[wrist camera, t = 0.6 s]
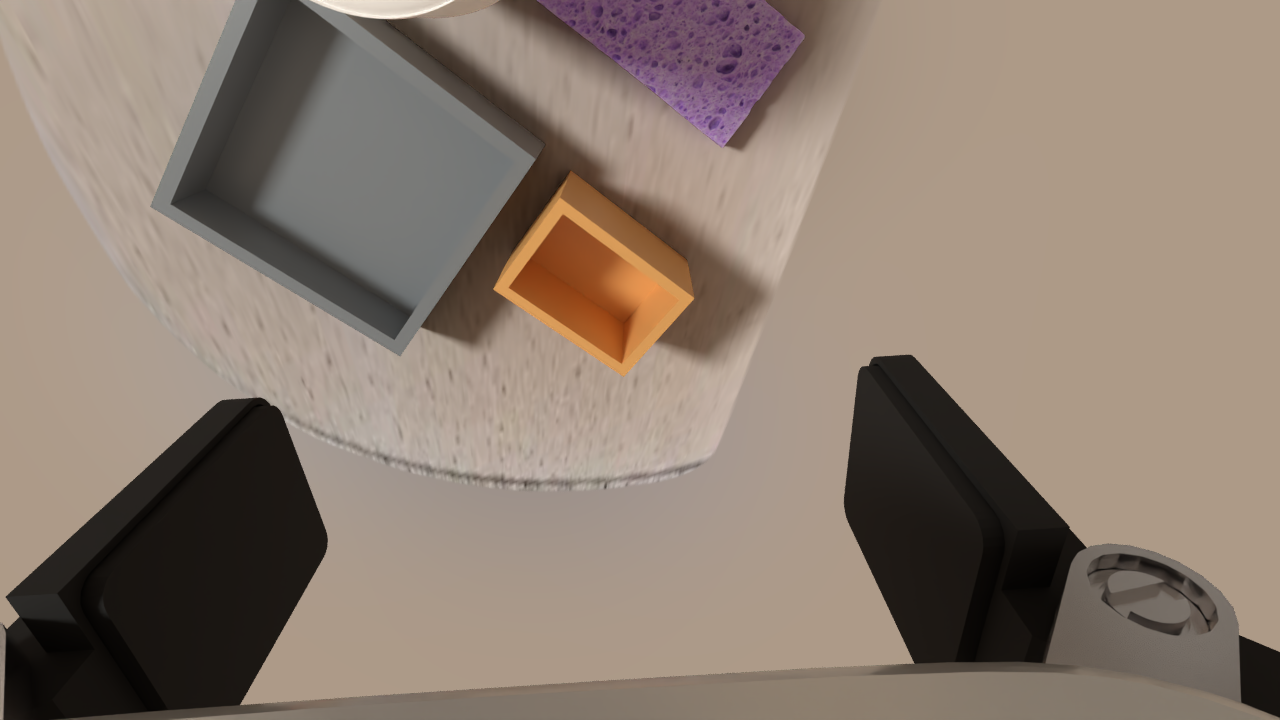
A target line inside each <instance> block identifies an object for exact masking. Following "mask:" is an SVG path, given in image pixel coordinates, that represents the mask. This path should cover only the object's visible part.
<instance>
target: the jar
mask: <svg viewBox="0 0 1280 720" xmlns="http://www.w3.org/2000/svg"><path fill="white" fill-rule="evenodd" d="M310 1H313V2H315V3H317V4H319V5H322V6H324V7H327V8H330V9H332V10H335V11H339V12H342V13H346V14H350V15H354V16H360V17H367V18H376V19H408V18H415V17H424V18H445V17H454V16H460V15H465V14H469V13H473V12H476V11H479V10H481V9H484V8H486V7H488V6H490V5H492V4H494V3H496V2H498V1H500V0H310Z"/></svg>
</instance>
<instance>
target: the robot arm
mask: <svg viewBox="0 0 1280 720" xmlns="http://www.w3.org/2000/svg"><path fill="white" fill-rule="evenodd" d="M844 508H845V513H846V518H847V520H848V523H849V525H850V527H851V529H852V531H853V533H854V536H855V537H856V540H857V542H858V544H859V546H860V548H861V551H862V553H863V555H864V557H865V559H866V561H867V563H868V565H869V568H870V570H871V572H872V574H873V576H874V578H875V580H876V583H877V584H878V587H879V589H880V591H881V593H882V595H883V597H884V600H885V601H886V604H887V606H888V608H889V610H890V612H891V614H892V617H893V618H894V621H895V623H896V625H897V627H898V629H899V631H900V634H901V636H902V638H903V640H904V642H905V644H906V646H907V648H908V651H909V653H910V655H911V657H912V659H913V661H914V663H915V664H898V665H876V666H854V667H831V668H810V669H792V670H776V671H759V672H745V673H744V672H742V673H726V674H708V675H693V676H676V677H659V678H642V679H625V680H609V681H592V682H579V683H562V684H546V685H532V686H531V685H530V686H516V687H501V688H500V687H499V688H485V689H469V690H454V691H440V692H424V693H410V694H393V695H378V696H364V697H349V698H335V699H321V700H309V701H293V702H279V703H265V704H253V705H252V704H251V705H240V704H241V702H242V700H243V699H244V696H245V695H246V693H247V692H248V690H249V688H250V686H251V684H252V683H253V681H254V679H255V678H256V676H257V674H258V672H259V670H260V669H261V667H262V665H263V663H264V662H265V660H266V658H267V656H268V655H269V653H270V651H271V649H272V648H273V646H274V644H275V642H276V640H277V639H278V637H279V635H280V633H281V632H282V630H283V628H284V626H285V625H286V623H287V621H288V619H289V618H290V616H291V614H292V612H293V610H294V609H295V607H296V605H297V603H298V601H299V600H300V598H301V596H302V595H303V593H304V591H305V589H306V588H307V586H308V584H309V582H310V580H311V579H312V577H313V575H314V573H315V572H316V570H317V568H318V566H319V565H320V563H321V561H322V559H323V557H324V555H325V553H326V550H327V542H328V538H327V533H326V529H325V527H324V524H323V521H322V519H321V516H320V513H319V511H318V508H317V506H316V503H315V500H314V498H313V495H312V492H311V490H310V487H309V484H308V482H307V479H306V476H305V474H304V471H303V468H302V466H301V463H300V461H299V458H298V455H297V453H296V450H295V447H294V445H293V442H292V439H291V437H290V434H289V431H288V429H287V426H286V423H285V421H284V418H283V415H282V413H281V411H280V410H279V409H278V408H277V407H276V406H270V404H269V403H268V402H267V401H266V400H265V399H263V398H246V399H231V400H222V401H220V402H218V403H217V404H216V405H215V406H214V407H213V408H211V409H210V410H209V411H208V412H207V413H206V414H205V415H204V416H203V417H202V418H200V420H198V421H197V422H196V423H195V424H194V425H193V426H192V427H191V428H190V429H188V430H187V431H186V432H185V433H184V434H183V435H182V436H181V437H180V438H179V439H177V440H176V442H174V443H173V444H172V445H171V446H170V447H169V448H168V449H167V450H165V451H164V452H163V453H162V454H161V455H160V456H159V457H158V458H157V459H156V460H155V461H153V463H151V464H150V465H149V466H148V467H147V468H146V469H145V470H144V471H143V472H142V473H140V475H138V476H137V477H136V478H135V479H134V480H133V481H132V482H130V483H129V484H128V485H127V486H126V487H125V488H124V489H123V490H122V491H121V492H120V493H119V494H117V495H116V496H115V497H114V498H113V499H112V500H111V501H110V502H109V503H108V504H107V505H105V506H104V507H103V508H102V509H101V510H100V511H99V512H98V513H97V514H96V515H94V516H93V517H92V518H91V519H90V520H89V521H88V522H87V523H86V524H85V525H84V526H82V527H81V528H80V529H79V530H78V531H77V532H76V533H75V534H74V535H73V536H71V538H69V539H68V540H67V541H66V542H65V543H64V544H63V545H62V546H61V547H59V548H58V549H57V550H56V551H55V552H54V553H53V554H52V555H51V556H50V557H49V558H47V559H46V560H45V561H44V562H43V563H42V564H41V565H40V566H39V567H38V568H37V569H35V570H34V571H33V572H32V573H31V574H30V575H29V576H28V577H27V578H26V579H25V580H24V581H22V582H21V583H20V584H19V585H18V586H17V587H16V588H15V589H14V590H13V591H11V592H10V593H9V594H8V595H7V596H6V598H7V600H8V601H9V602H10V604H11V605H12V606H13V608H14V609H15V611H16V612H17V613H18V615H19V616H20V617H19V618H18V619H17V620H16V621H15V622H14V623H13V624H12V625H11V626H10V627H9V628H8V629H6V628H5V626H4V625H3V624H2V623H0V720H1280V652H1278V651H1276V650H1273V649H1271V648H1269V647H1266V646H1264V645H1262V644H1259V643H1257V642H1254V641H1252V640H1250V639H1247V638H1245V637H1242V636H1240V635H1239V628H1238V622H1237V618H1236V615H1235V611H1234V608H1233V607H1232V606H1231V604H1230V603H1229V602H1228V600H1227V599H1226V598H1225V597H1224V595H1223V594H1222V593H1221V591H1219V590H1218V589H1217V588H1216V587H1214V585H1212V584H1211V583H1210V582H1209V581H1207V580H1206V579H1205V578H1204V577H1203V576H1202V575H1200V574H1198V573H1197V572H1195V571H1193V570H1192V569H1190V568H1188V567H1187V566H1185V565H1183V564H1181V563H1180V562H1178V561H1175V560H1173V559H1171V558H1168V557H1166V556H1163V555H1161V554H1159V553H1156V552H1153V551H1149V550H1145V549H1141V548H1137V547H1134V546H1128V545H1118V544H1102V545H1095V546H1090V547H1088V548H1086V546H1085V545H1084V544H1083V543H1082V542H1081V541H1080V540H1079V539H1078V538H1077V537H1076V535H1075V534H1074V533H1073V532H1072V531H1071V530H1070V529H1069V528H1070V527H1069V526H1068V525H1067V523H1065V521H1064V520H1063V519H1062V518H1061V517H1060V516H1059V515H1058V514H1057V513H1056V511H1055V510H1054V509H1053V508H1052V507H1051V506H1050V505H1049V504H1048V503H1047V502H1046V501H1045V499H1044V498H1043V497H1042V496H1041V495H1040V494H1039V493H1038V492H1037V491H1036V490H1035V488H1034V487H1033V486H1032V485H1031V484H1030V483H1029V482H1028V481H1027V480H1026V479H1025V478H1024V476H1023V475H1022V474H1021V473H1020V472H1019V471H1018V470H1017V469H1016V468H1015V467H1014V466H1013V465H1012V463H1011V462H1010V461H1009V460H1008V459H1007V458H1006V457H1005V456H1004V455H1003V454H1002V452H1001V451H1000V450H999V449H998V448H997V447H996V446H995V445H994V444H993V443H992V442H991V440H990V439H988V437H987V436H986V435H985V434H984V433H983V432H982V431H981V430H980V428H979V427H978V426H977V425H976V424H975V423H974V422H973V421H972V420H971V419H970V418H969V416H968V415H967V414H966V413H965V412H964V411H963V410H962V409H961V408H960V407H959V406H958V404H957V403H956V402H955V401H954V400H953V399H952V398H951V397H950V396H949V395H948V393H947V392H946V391H945V390H944V389H943V388H942V387H941V386H940V385H939V384H938V383H937V382H936V380H935V379H934V378H933V377H932V376H931V375H930V374H929V373H928V372H927V371H926V369H925V368H924V367H923V366H922V365H921V364H920V363H919V362H918V361H917V360H916V358H915V357H913V356H912V355H899V356H898V355H897V356H883V357H874V358H873V359H872V360H871V362H870V364H869V366H864V367H861V368H860V370H859V373H858V380H857V389H856V397H855V406H854V416H853V424H852V433H851V442H850V450H849V459H848V468H847V478H846V486H845V494H844Z"/></svg>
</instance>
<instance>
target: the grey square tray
mask: <svg viewBox="0 0 1280 720" xmlns="http://www.w3.org/2000/svg"><path fill="white" fill-rule="evenodd" d="M545 145H546V144H544V143H543V142H542V141H540V140H539V139H538V138H537V137H535V136H534V135H533V134H531V133H530V132H529V131H528V130H526V129H525V128H524V127H522V126H521V125H520V124H518V123H517V122H516V121H515V120H513V119H512V118H511V117H509V116H508V115H507V114H506V113H504V112H503V111H502V110H500V109H499V108H498V107H497V106H495V105H494V104H493V103H491V102H490V101H489V100H487V99H486V98H485V97H484V96H482V95H481V94H480V93H478V92H477V91H476V90H475V89H473V88H472V87H471V86H469V85H468V84H467V83H465V82H464V81H463V80H462V79H460V78H459V77H458V76H456V75H455V74H454V73H453V72H451V71H450V70H449V69H447V68H446V67H445V66H444V65H442V64H441V63H440V62H438V61H437V60H436V59H434V58H433V57H432V56H431V55H429V54H428V53H427V52H425V51H424V50H423V49H422V48H420V47H419V46H418V45H416V44H415V43H414V42H413V41H411V40H410V39H409V38H407V37H406V36H405V35H403V34H402V33H401V32H400V31H398V30H397V29H396V28H394V27H393V26H392V25H391V24H389V23H388V22H387V21H385V20H384V19H376V18H367V17H360V16H354V15H350V14H346V13H342V12H339V11H335V10H332V9H330V8H327V7H324V6H322V5H319V4H317V3H315V2H313V1H310V0H236V1H235V3H234V5H233V8H232V10H231V13H230V15H229V17H228V20H227V22H226V25H225V27H224V30H223V32H222V34H221V37H220V39H219V42H218V44H217V46H216V49H215V51H214V54H213V56H212V59H211V61H210V63H209V66H208V68H207V71H206V73H205V75H204V78H203V80H202V83H201V85H200V88H199V90H198V92H197V95H196V97H195V100H194V102H193V105H192V107H191V109H190V112H189V114H188V117H187V119H186V121H185V124H184V126H183V129H182V131H181V134H180V136H179V138H178V141H177V143H176V146H175V148H174V150H173V153H172V155H171V158H170V160H169V163H168V165H167V167H166V170H165V172H164V175H163V177H162V179H161V182H160V184H159V187H158V189H157V192H156V194H155V196H154V199H153V201H152V204H151V206H150V207H152V208H153V209H155V210H157V211H158V212H160V213H162V214H163V215H165V216H167V217H168V218H170V219H172V220H173V221H175V222H177V223H178V224H180V225H182V226H183V227H185V228H187V229H188V230H190V231H192V232H193V233H195V234H197V235H198V236H200V237H202V238H203V239H205V240H207V241H208V242H210V243H212V244H213V245H215V246H217V247H218V248H220V249H222V250H223V251H225V252H227V253H228V254H230V255H232V256H233V257H235V258H237V259H239V260H240V261H242V262H244V263H245V264H247V265H249V266H250V267H252V268H254V269H255V270H257V271H259V272H260V273H262V274H264V275H265V276H267V277H269V278H270V279H272V280H274V281H275V282H277V283H279V284H280V285H282V286H284V287H285V288H287V289H289V290H290V291H292V292H294V293H295V294H297V295H299V296H300V297H302V298H304V299H305V300H307V301H309V302H310V303H312V304H314V305H315V306H317V307H319V308H320V309H322V310H324V311H325V312H327V313H329V314H330V315H332V316H334V317H335V318H337V319H339V320H340V321H342V322H344V323H345V324H347V325H349V326H350V327H352V328H354V329H355V330H357V331H359V332H360V333H362V334H364V335H365V336H367V337H369V338H370V339H372V340H374V341H375V342H377V343H379V344H380V345H382V346H384V347H385V348H387V349H389V350H390V351H392V352H394V353H395V354H397V355H399V356H401V354H402V353H403V351H404V350H405V348H406V347H407V345H408V344H409V343H410V341H411V340H412V338H413V337H414V335H415V334H416V332H417V331H418V330H419V328H420V327H421V325H422V324H423V322H424V321H425V319H426V318H427V316H428V315H429V314H430V312H431V311H432V309H433V308H434V306H435V305H436V303H437V302H438V301H439V299H440V298H441V296H442V295H443V293H444V292H445V290H446V289H447V287H448V286H449V285H450V283H451V282H452V280H453V279H454V277H455V276H456V274H457V273H458V272H459V270H460V269H461V267H462V266H463V264H464V263H465V261H466V260H467V258H468V257H469V256H470V254H471V253H472V251H473V250H474V248H475V247H476V245H477V244H478V243H479V241H480V240H481V238H482V237H483V235H484V234H485V232H486V231H487V229H488V228H489V227H490V225H491V224H492V222H493V221H494V219H495V218H496V216H497V215H498V214H499V212H500V211H501V209H502V208H503V206H504V205H505V203H506V202H507V200H508V199H509V198H510V196H511V195H512V193H513V192H514V190H515V189H516V187H517V186H518V185H519V183H520V182H521V180H522V179H523V177H524V176H525V174H526V173H527V171H528V170H529V169H530V167H531V166H532V164H533V163H534V161H535V160H536V158H537V157H538V155H539V154H540V152H541V151H542V149H543V148H544V146H545Z"/></svg>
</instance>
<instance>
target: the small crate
mask: <svg viewBox="0 0 1280 720" xmlns="http://www.w3.org/2000/svg"><path fill="white" fill-rule="evenodd" d="M493 290H495V291H496V292H498V293H499V294H501V295H502V296H504V297H505V298H507V299H508V300H510V301H511V302H513V303H514V304H516V305H517V306H519V307H520V308H522V309H523V310H525V311H526V312H528V313H529V314H531V315H532V316H534V317H535V318H537V319H538V320H540V321H541V322H543V323H544V324H546V325H547V326H549V327H550V328H552V329H553V330H555V331H556V332H558V333H559V334H561V335H562V336H564V337H565V338H567V339H568V340H570V341H571V342H573V343H574V344H576V345H577V346H579V347H580V348H582V349H583V350H585V351H586V352H588V353H589V354H591V355H592V356H594V357H595V358H597V359H598V360H599V361H601V362H602V363H604V364H605V365H607V366H608V367H610V368H611V369H613V370H614V371H616V372H617V373H619V374H620V375H622V376H623V377H624V376H625V375H626V374H627V373H628V372H629V370H630V369H631V368H632V367H633V366H634V365H635V364H636V363H637V362H638V360H639V359H640V358H641V357H642V356H643V355H644V354H645V353H646V352H647V350H648V349H649V348H650V347H651V346H652V345H653V344H654V343H655V342H656V341H657V339H658V338H659V337H660V336H661V335H662V334H663V333H664V332H665V331H666V329H667V328H668V327H669V326H670V325H671V324H672V323H673V322H674V321H675V320H676V318H677V317H678V316H679V315H680V314H681V313H682V312H683V311H684V310H685V308H686V307H687V306H688V305H689V304H690V303H691V302H692V301H693V300H694V293H693V288H692V282H691V277H690V272H689V267H688V262H687V259H685V258H684V257H683V256H681V255H680V254H679V253H677V252H676V251H675V250H674V249H672V248H671V247H670V246H668V245H667V244H666V243H664V242H663V241H662V240H661V239H659V238H658V237H657V236H655V235H654V234H653V233H651V232H650V231H649V230H648V229H646V228H645V227H644V226H642V225H641V224H640V223H639V222H637V221H636V220H635V219H633V218H632V217H631V216H629V215H628V214H627V213H626V212H624V211H623V210H622V209H620V208H619V207H618V206H616V205H615V204H614V203H613V202H611V201H610V200H609V199H607V198H606V197H605V196H603V195H602V194H601V193H600V192H598V191H597V190H596V189H594V188H593V187H592V186H590V185H589V184H588V183H587V182H585V181H584V180H583V179H581V178H580V177H579V176H577V175H576V174H575V173H574V172H572V171H570V172H569V174H568V175H567V176H566V178H565V179H564V181H563V182H562V183H561V185H560V186H559V188H558V189H557V190H556V192H555V193H554V194H553V196H552V197H551V199H550V200H549V201H548V203H547V204H546V206H545V207H544V208H543V210H542V211H541V212H540V214H539V215H538V217H537V218H536V219H535V221H534V222H533V224H532V225H531V226H530V228H529V229H528V230H527V232H526V233H525V235H524V236H523V237H522V239H521V240H520V242H519V243H518V244H517V246H516V247H515V249H514V250H513V251H512V253H511V255H510V257H509V259H508V261H507V263H506V265H505V267H504V269H503V271H502V273H501V275H500V277H499V279H498V281H497V283H496V285H495V287H494V289H493Z"/></svg>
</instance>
